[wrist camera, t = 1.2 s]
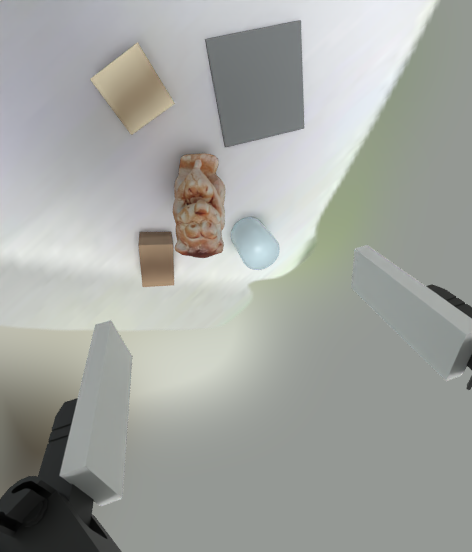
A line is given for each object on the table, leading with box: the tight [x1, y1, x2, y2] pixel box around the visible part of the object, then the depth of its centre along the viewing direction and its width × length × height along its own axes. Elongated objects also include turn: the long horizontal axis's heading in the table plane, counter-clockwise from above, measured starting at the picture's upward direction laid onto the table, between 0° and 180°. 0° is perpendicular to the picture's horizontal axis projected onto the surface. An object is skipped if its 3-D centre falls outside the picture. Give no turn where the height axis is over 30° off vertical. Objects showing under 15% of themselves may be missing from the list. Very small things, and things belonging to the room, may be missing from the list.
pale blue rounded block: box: [231, 217, 279, 270], centre depth 38 cm, size 5×5×6 cm
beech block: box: [90, 43, 175, 135], centre depth 27 cm, size 5×5×5 cm
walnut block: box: [139, 232, 174, 287], centre depth 37 cm, size 6×4×4 cm, turn 175°
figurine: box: [173, 153, 225, 258], centre depth 29 cm, size 6×8×15 cm
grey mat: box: [205, 20, 304, 147], centre depth 31 cm, size 10×10×1 cm
